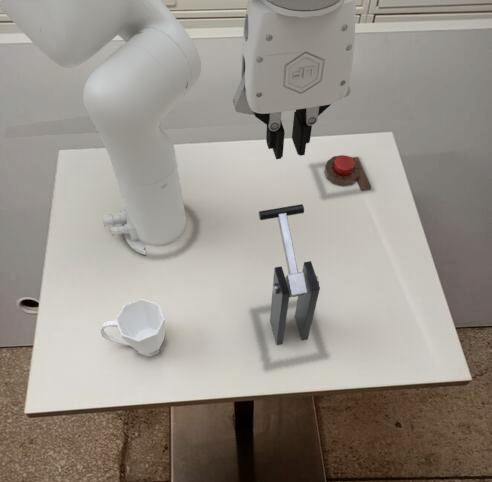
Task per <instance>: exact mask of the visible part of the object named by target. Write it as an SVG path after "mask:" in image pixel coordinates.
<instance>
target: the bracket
mask: <svg viewBox="0 0 492 482" xmlns="http://www.w3.org/2000/svg"><path fill="white" fill-rule="evenodd" d="M273 269H274V270H273V281H272V293H271V305H270V316H269V317H270V318H269V322H270V327H271V330H272V334H273V338H274V341H275V345H276V346H278V345H283V343H284V336H285V330H286V325H287V324H286V323H287V318H288V317H287V316H288V308H289V304H290V303H289V302H290V298H289V296H290V292H289V289H288V286H287V282H286V279H285V277H286V276H285V273H284V270H283V266H280V265H279V266H276V267H274V268H273ZM301 272H304V277H305V282H306V287H307V292H308V293H306V294H305V295H302V296H297V300H296V306H295V312H294V319H295V323H296V326H297V330H298V333H299V335H300V340H301V341H305V340H308V339H309V336H310V332H311V327H312V323H313V319H314V315H315V311H316V306H317V303H318V298H319V295H320V289H321V286H320V280H319V277H318V275H316V271H315V269H314V266H313V262H312V261H311V260H309V261H304V262H303V266H302V270H301Z"/></svg>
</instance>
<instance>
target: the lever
mask: <svg viewBox="0 0 492 482" xmlns="http://www.w3.org/2000/svg"><path fill="white" fill-rule="evenodd" d="M304 213H305V207H304V205H303V203H300V204H295V205H288V206H282V207H277V208H269V209H264V210H259V211H258V218H259V220H260V221H265V220H273V219H277V221H278V227H279V231H280V236H281V243H282V246H283V247H282V248H283V252H284V257H285V262H286V267H287V271H288V274H287V275H286V276H285V279H286V282H287V286H288V289H289V292H290V296H289V299H291V298H296V297H298V296H302V295H305V294H306V293H308V292H307V287H306V282H305V277H304V272H302V271H301V272H299V269H298V265H297V260H296V255H295V250H294V245H293V239H292V234H291V230H290V224H289V219H288V217H289V216H294V215H301V214H304Z"/></svg>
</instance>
